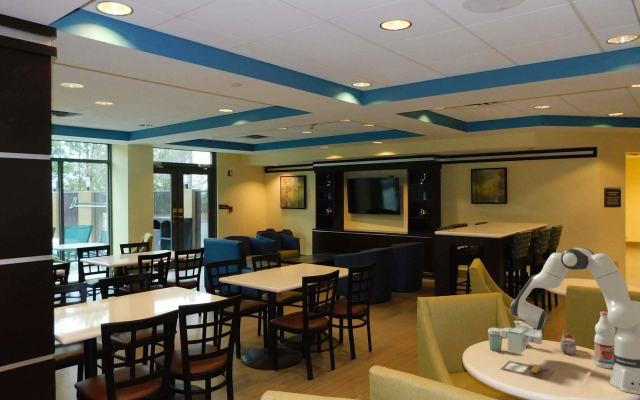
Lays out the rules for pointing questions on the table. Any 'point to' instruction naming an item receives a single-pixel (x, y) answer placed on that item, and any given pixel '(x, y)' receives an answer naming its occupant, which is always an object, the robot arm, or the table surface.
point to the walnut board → (527, 370)
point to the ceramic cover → (516, 340)
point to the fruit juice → (604, 342)
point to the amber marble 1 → (534, 370)
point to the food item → (568, 344)
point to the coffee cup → (495, 339)
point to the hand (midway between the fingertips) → (517, 339)
